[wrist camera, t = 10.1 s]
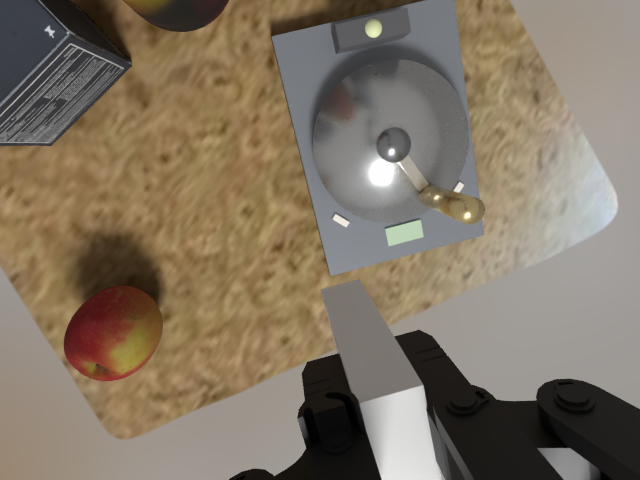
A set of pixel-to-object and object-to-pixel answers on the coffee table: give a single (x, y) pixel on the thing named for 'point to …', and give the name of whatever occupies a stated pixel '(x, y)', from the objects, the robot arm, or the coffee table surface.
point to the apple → (113, 333)
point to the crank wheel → (394, 144)
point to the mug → (178, 12)
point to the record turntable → (325, 74)
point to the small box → (50, 69)
